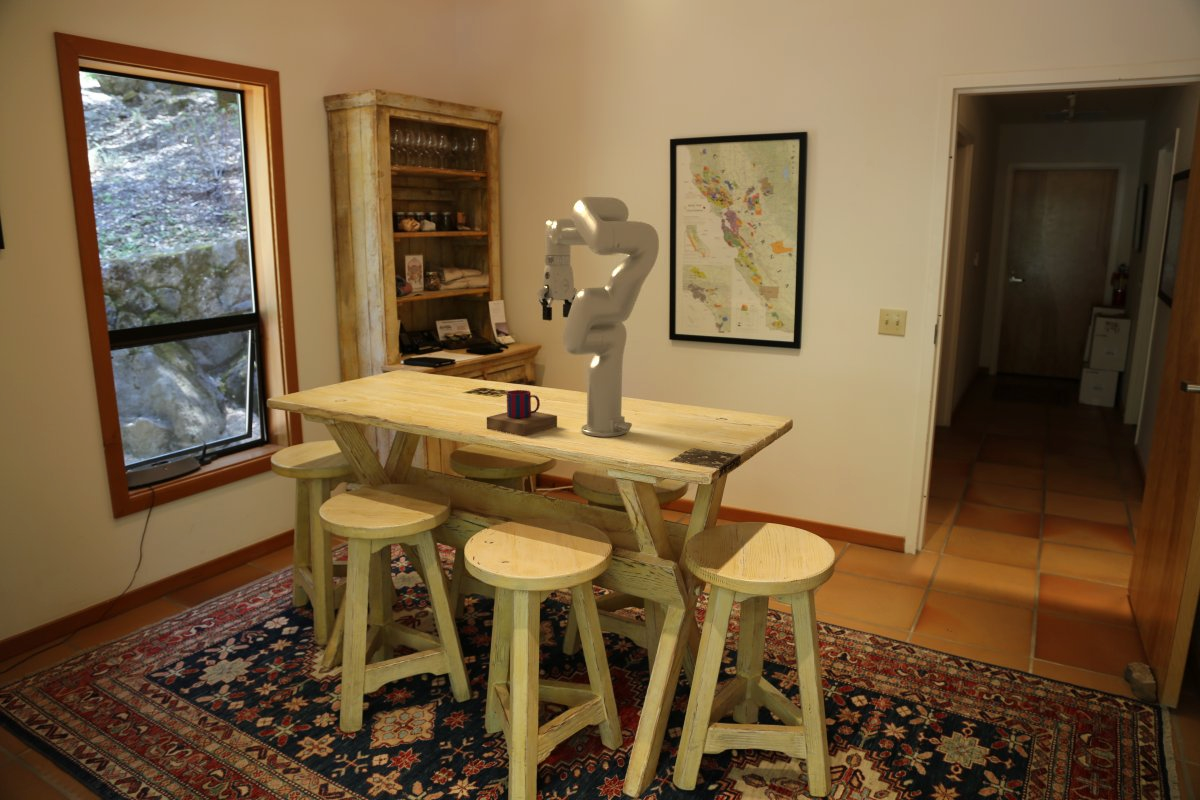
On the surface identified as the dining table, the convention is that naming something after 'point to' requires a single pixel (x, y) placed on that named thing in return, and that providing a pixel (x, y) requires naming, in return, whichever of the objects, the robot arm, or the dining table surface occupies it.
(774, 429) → the dining table surface
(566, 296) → the robot arm
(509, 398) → the mug
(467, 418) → the dining table surface
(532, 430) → the walnut block
